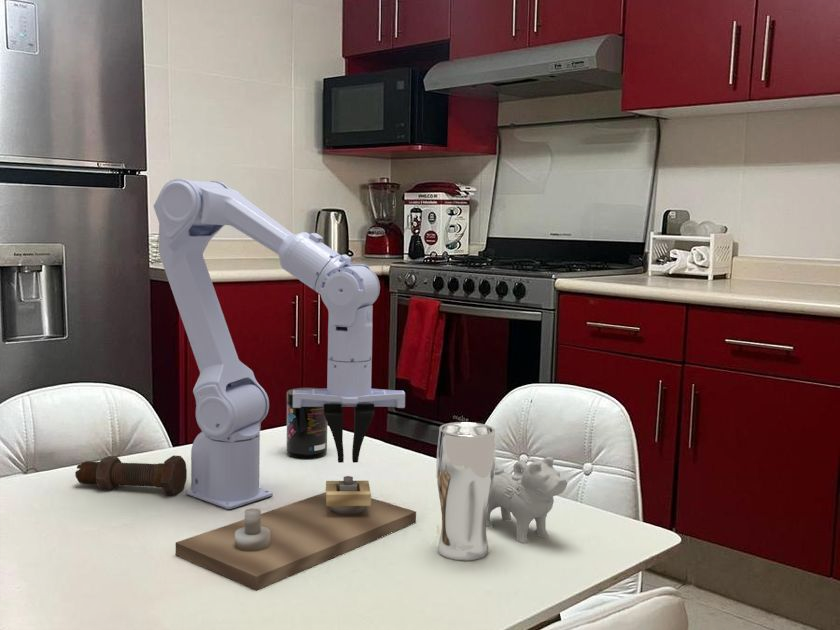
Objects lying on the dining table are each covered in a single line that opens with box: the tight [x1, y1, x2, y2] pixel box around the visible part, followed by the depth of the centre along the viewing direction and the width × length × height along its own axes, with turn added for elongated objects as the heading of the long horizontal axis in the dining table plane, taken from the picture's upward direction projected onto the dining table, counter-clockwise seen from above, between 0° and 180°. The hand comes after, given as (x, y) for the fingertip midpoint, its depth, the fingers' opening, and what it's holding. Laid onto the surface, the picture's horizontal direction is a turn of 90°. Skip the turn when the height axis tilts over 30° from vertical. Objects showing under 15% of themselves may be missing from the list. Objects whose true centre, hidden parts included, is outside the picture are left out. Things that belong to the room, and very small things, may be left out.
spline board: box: [175, 475, 417, 591], centre depth 106 cm, size 27×14×6 cm, turn 142°
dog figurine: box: [486, 456, 568, 545], centre depth 109 cm, size 5×13×11 cm, turn 40°
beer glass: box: [436, 421, 497, 562], centre depth 103 cm, size 7×7×15 cm
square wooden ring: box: [325, 480, 372, 506], centre depth 112 cm, size 6×6×2 cm
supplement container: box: [286, 387, 328, 460], centre depth 142 cm, size 7×7×10 cm
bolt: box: [74, 455, 188, 497], centre depth 122 cm, size 6×5×15 cm
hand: (347, 460), depth 114 cm, fingers closed
